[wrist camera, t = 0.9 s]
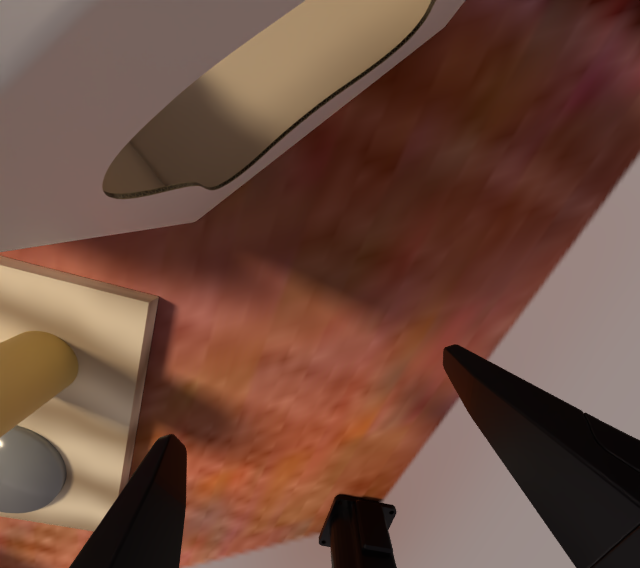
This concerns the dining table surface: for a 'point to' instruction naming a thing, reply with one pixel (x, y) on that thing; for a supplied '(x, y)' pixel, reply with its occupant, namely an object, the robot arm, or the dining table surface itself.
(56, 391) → the yellow cylinder
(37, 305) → the base board
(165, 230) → the dining table surface
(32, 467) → the slate seat
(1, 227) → the gable box
